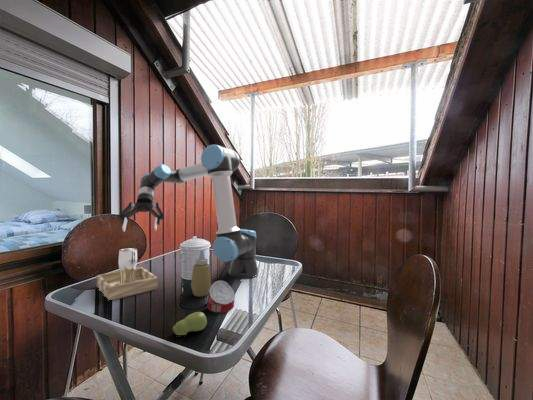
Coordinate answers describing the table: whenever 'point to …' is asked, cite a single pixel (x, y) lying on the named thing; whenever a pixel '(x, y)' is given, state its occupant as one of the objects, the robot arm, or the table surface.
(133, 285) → the crate
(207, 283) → the squeeze bottle
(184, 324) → the pear
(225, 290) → the canned food
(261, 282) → the table surface
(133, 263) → the beer glass
